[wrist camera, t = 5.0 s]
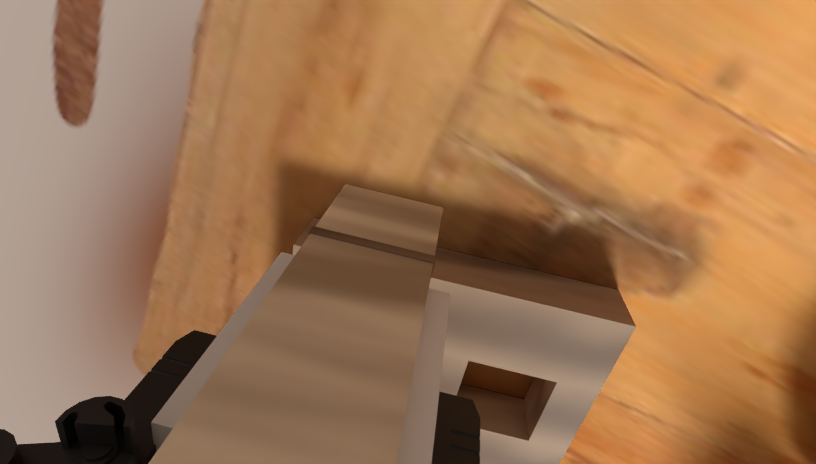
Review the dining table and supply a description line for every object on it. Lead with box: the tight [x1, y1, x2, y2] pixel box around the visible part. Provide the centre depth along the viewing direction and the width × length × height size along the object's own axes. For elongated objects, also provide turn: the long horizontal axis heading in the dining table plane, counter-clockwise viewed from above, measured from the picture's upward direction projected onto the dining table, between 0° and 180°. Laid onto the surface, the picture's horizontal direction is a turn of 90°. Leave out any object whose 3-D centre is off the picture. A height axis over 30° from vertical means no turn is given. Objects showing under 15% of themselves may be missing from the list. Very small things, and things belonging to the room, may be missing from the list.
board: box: [292, 218, 636, 464], centre depth 35 cm, size 18×22×4 cm
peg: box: [148, 184, 443, 464], centre depth 13 cm, size 4×4×14 cm
